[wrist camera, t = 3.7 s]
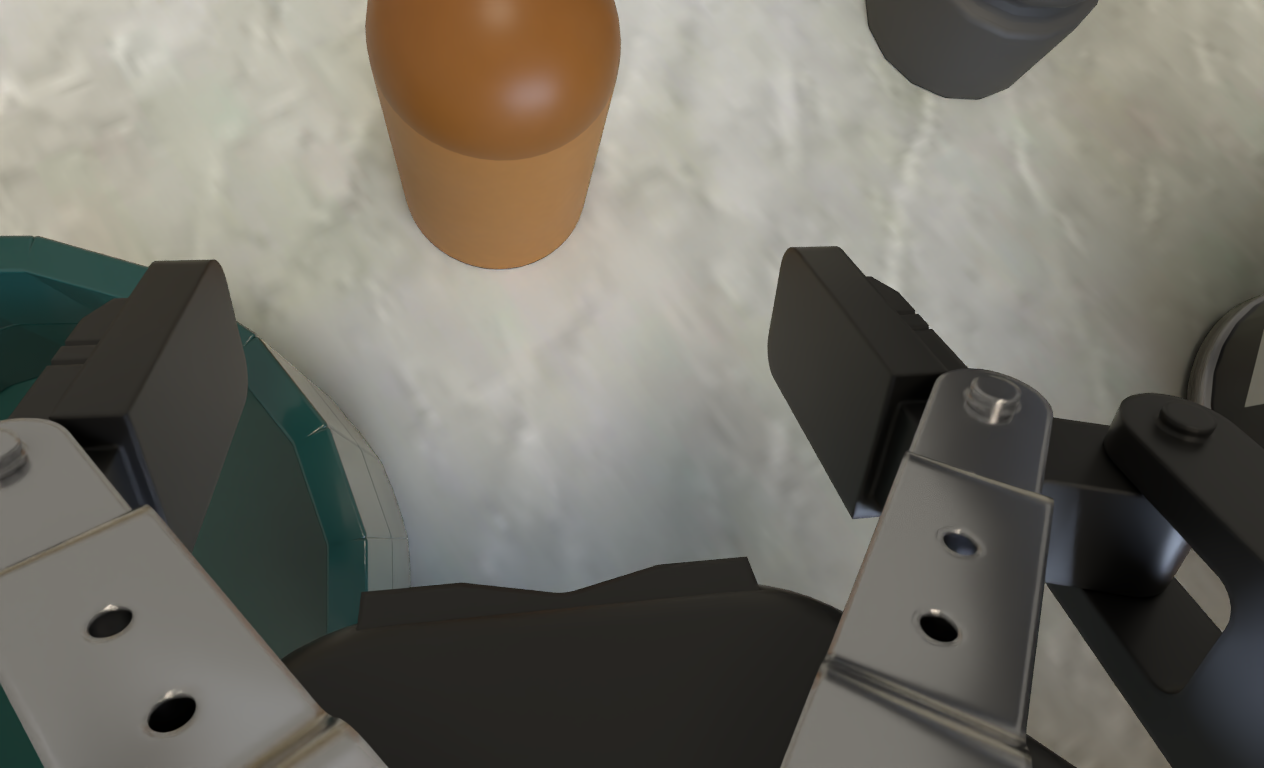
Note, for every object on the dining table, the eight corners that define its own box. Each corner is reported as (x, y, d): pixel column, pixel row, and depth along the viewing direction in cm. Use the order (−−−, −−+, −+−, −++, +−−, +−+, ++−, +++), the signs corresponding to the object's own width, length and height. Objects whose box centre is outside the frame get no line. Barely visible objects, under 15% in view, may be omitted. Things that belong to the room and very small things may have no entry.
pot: (207, 240, 22) (69, 95, 15) (515, 629, 22) (525, 674, 14) (-301, 564, 19) (-791, 579, 12) (43, 1030, 19) (-248, 1347, 11)
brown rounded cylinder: (511, 70, 25) (521, -215, 15) (620, 203, 24) (696, -4, 15) (366, 163, 23) (281, -84, 14) (480, 304, 23) (468, 147, 14)
